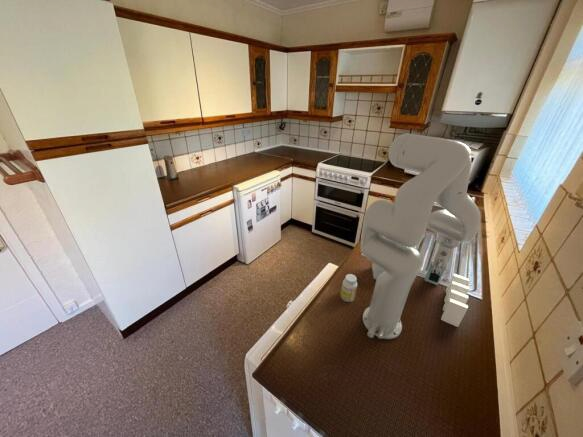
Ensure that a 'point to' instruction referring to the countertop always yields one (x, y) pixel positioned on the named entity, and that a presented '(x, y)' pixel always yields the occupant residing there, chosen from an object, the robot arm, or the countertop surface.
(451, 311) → the domino
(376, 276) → the small box
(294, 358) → the countertop surface
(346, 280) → the supplement bottle
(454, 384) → the countertop surface
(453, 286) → the domino
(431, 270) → the domino
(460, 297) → the domino
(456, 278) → the domino
